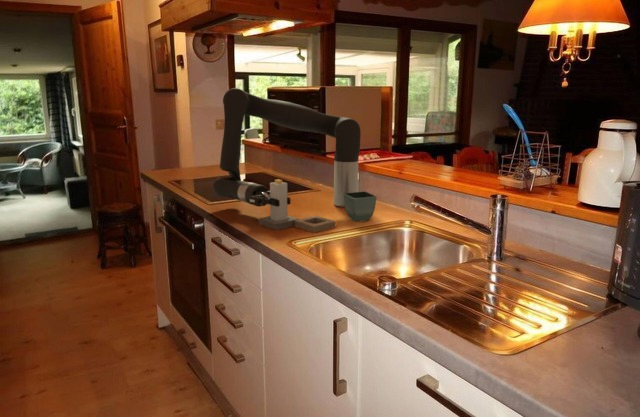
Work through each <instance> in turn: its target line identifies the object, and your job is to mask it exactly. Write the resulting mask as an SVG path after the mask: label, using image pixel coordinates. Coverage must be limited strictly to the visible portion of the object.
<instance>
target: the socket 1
mask: <svg viewBox="0 0 640 417" xmlns="http://www.w3.org/2000/svg"><path fill="white" fill-rule="evenodd" d="M299 219H300V218H298V217H294V216H290V215H288V220H283V221H279V222H277V221H274V220H271V216H270V215H269V216H263V217H259V218H258V225H260V226H263V227H265V228H269V229H272V230H275V231H279V230H284V229H288V228H291V227H295V226H294V221H295V220H299Z"/></svg>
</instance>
